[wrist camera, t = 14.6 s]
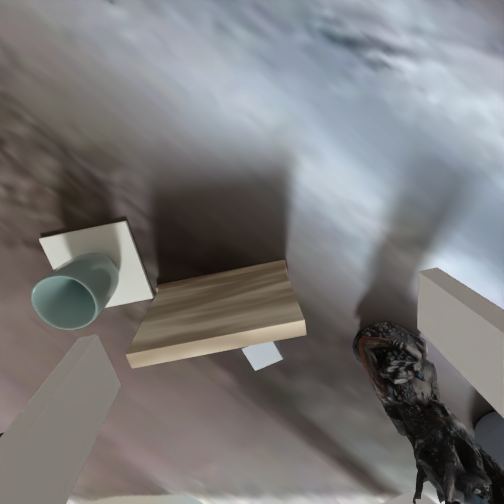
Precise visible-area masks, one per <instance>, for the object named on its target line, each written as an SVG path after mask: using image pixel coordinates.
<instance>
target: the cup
mask: <svg viewBox="0 0 504 504" xmlns="http://www.w3.org/2000/svg"><path fill="white" fill-rule="evenodd" d="M118 284H119V272H118V269H117V267H116V265H115V264H114V262H113V261H112V260H111V259H110V258H108V257H107V256H105V255H103V254H100V253H86V254H82V255H78V256H76V257H74V258H72V259H70V260H68V261H66V262H65V263H63V264H61V265H60V266H58V267H57V268H56V269H54V270H53V271H51V272H50V273H49V274H47V275H46V276H44V277H43V278H42V279H41V280H39V281H38V282H37V283H36V285H35V286H34V287H33V290H32V293H31V300H32V304H33V307H34V309H35V310H36V312H37V313H38V315H39V316H40V317H41V318H42V319H43V320H44V321H45V322H47V323H48V324H50V325H51V326H54V327H56V328H59V329H65V330H72V329H78V328H82V327H84V326H87V325H88V324H90V323H91V322H93V321H94V320H95V319H96V317H97V316H98V315H99V314H100V313H101V312H102V310H103V309H104V308H105V306H106V305H107V304H108V302H109V301H110V300H111V298H112V297H113V295H114V293H115V291H116V289H117V287H118Z"/></svg>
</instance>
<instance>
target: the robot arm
mask: <svg viewBox="0 0 504 504" xmlns="http://www.w3.org/2000/svg"><path fill="white" fill-rule="evenodd" d="M417 329H418V330H419V331H420V332H421V333H422V334H423V335H424V336H425V337H426V338H427V339H428V340H429V341H430V342H431V343H432V344H433V345H434V346H435V347H436V348H437V349H438V350H439V351H440V352H441V354H442V355H443V356H444V357H445V358H446V359H447V360H448V361H449V362H450V363H451V364H452V365H453V366H454V367H455V368H456V369H457V370H458V371H459V372H460V373H461V374H462V375H463V376H464V377H465V378H466V380H467V381H468V382H469V383H470V384H471V385H472V386H473V387H474V388H475V389H476V390H477V391H478V392H479V393H480V394H481V395H482V396H483V397H484V398H485V399H486V400H487V401H488V402H489V403H490V404H491V405H492V407H493V408H494V409H495V410H496V411H497V412H498V413H499V414H500V415H501V416H502V417H503V418H504V310H503V309H502V308H500V307H499V306H497V305H495V304H494V303H492V302H491V301H489V300H488V299H486V298H484V297H483V296H481V295H480V294H478V293H477V292H475V291H473V290H472V289H470V288H469V287H467V286H466V285H464V284H462V283H461V282H459V281H458V280H456V279H455V278H453V277H451V276H450V275H448V274H447V273H445V272H444V271H442V270H440V269H439V268H433V269H428V270H423V271H418V312H417ZM120 386H121V384H120V382H119V380H118V378H117V376H116V373H115V371H114V369H113V367H112V365H111V363H110V361H109V359H108V356H107V354H106V352H105V350H104V348H103V346H102V344H101V342H100V339H99V337H98V335H97V334H96V335H91V336H86V337H81V338H78V340H77V341H76V342H75V343H74V345H73V346H72V347H71V348H70V350H69V351H68V352H67V353H66V355H65V356H64V357H63V359H62V360H61V361H60V362H59V364H58V365H57V366H56V367H55V369H54V370H53V371H52V373H51V374H50V375H49V376H48V378H47V379H46V380H45V381H44V383H43V384H42V385H41V387H40V388H39V389H38V390H37V392H36V393H35V394H34V395H33V397H32V398H31V399H30V400H29V402H28V403H27V404H26V406H25V407H24V408H23V409H22V411H21V412H20V413H19V414H18V416H17V417H16V418H15V420H14V421H13V422H12V423H11V425H10V426H9V427H8V428H7V430H6V431H5V432H4V433H1V434H0V504H66V503H67V500H68V498H69V496H70V494H71V492H72V490H73V487H74V485H75V483H76V481H77V479H78V477H79V475H80V472H81V470H82V468H83V466H84V464H85V462H86V459H87V457H88V455H89V453H90V451H91V449H92V447H93V444H94V442H95V440H96V438H97V436H98V434H99V431H100V429H101V427H102V425H103V423H104V421H105V419H106V416H107V414H108V412H109V410H110V408H111V406H112V403H113V401H114V399H115V397H116V395H117V393H118V391H119V388H120Z"/></svg>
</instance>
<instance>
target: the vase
mask: <svg viewBox="0 0 504 504" xmlns="http://www.w3.org/2000/svg"><path fill="white" fill-rule="evenodd" d="M475 441H476V442H477V443H478V444H479V445H481V447H482V449H483V450H484V451H485V452H486V453H487V454H489V455H490V456H491V457H493V458H494V459H495V460H497V461H498V462H499V463H500V465H501V466H502V467H503V468H504V418H503V417H502V416H501V415H500V414H499V413H498V412H497V411H495V412H491V413H489V414H487V415H485V416H484V417H482V418H481V419H480V420H479V421H478V423H477V424H476V427H475Z"/></svg>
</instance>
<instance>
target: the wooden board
mask: <svg viewBox="0 0 504 504" xmlns="http://www.w3.org/2000/svg"><path fill="white" fill-rule="evenodd" d="M155 289H156V292H157V294H156V296H155V298H154V300H153V302H152V304H151V306H150V308H149V310H148V312H147V314H146V316H145V318H144V320H143V322H142V324H141V326H140V328H139V330H138V332H137V334H136V336H135V337H134V339H133V341H132V343H131V345H130V347H129V349H128V351H127V353H126V356H127V358H128V361H129V363H130V365H131V367H132V368H137V367H142V366H148V365H153V364H158V363H163V362H168V361H173V360H179V359H184V358H189V357H194V356H199V355H205V354H210V353H215V352H220V351H225V350H230V349H236V348H241V347H246V346H251V345H256V344H261V343H267V342H272V341H277V340H282V339H287V338H293V337H298V336H303V335H307V334H306V327H305V320H304V317H303V315H302V312H301V310H300V307H299V304H298V302H297V299H296V297H295V294H294V291H293V289H292V286H291V283H290V281H289V278H288V274H287V268H286V262H285V260H280V261H275V262H270V263H264V264H259V265H254V266H249V267H244V268H239V269H234V270H229V271H224V272H219V273H214V274H209V275H204V276H199V277H194V278H189V279H184V280H179V281H174V282H169V283H164V284H159V285H157V286H156V288H155Z"/></svg>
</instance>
